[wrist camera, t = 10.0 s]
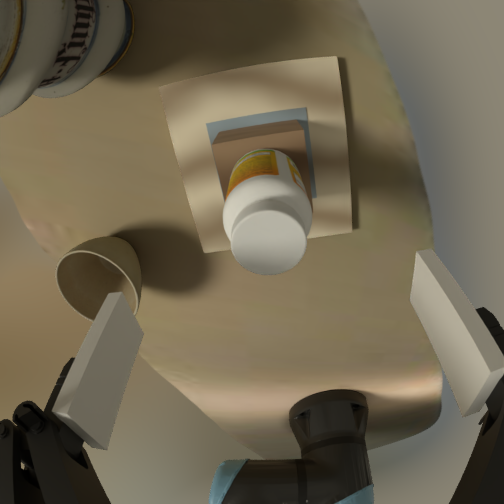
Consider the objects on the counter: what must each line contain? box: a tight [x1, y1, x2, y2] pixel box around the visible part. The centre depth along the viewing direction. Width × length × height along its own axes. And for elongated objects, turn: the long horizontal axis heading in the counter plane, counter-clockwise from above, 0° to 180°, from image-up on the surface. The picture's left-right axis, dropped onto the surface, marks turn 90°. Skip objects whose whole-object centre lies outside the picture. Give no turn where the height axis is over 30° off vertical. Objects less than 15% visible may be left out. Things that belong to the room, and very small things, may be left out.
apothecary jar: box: [0, 0, 135, 117], centre depth 15 cm, size 12×12×18 cm
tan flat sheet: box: [159, 56, 352, 253], centre depth 29 cm, size 18×16×1 cm
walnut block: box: [212, 119, 314, 213], centre depth 27 cm, size 7×7×5 cm
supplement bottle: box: [223, 149, 312, 275], centre depth 21 cm, size 5×5×10 cm
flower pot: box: [55, 237, 142, 322], centre depth 33 cm, size 10×10×7 cm
